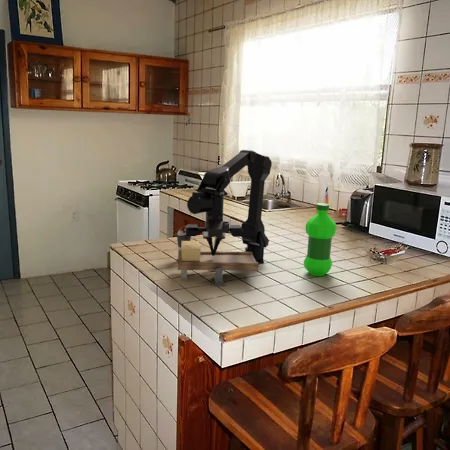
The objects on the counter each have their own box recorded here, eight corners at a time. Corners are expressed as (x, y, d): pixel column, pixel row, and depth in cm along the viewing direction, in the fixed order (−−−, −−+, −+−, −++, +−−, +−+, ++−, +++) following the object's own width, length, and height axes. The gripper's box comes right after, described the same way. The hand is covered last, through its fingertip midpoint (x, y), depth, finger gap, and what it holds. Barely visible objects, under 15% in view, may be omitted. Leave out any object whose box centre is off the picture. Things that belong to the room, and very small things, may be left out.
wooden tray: (251, 259, 162) (252, 247, 161) (258, 272, 148) (259, 260, 147) (178, 258, 160) (178, 247, 159) (178, 272, 145) (178, 259, 144)
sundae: (176, 263, 167) (176, 223, 164) (173, 257, 173) (173, 219, 170) (193, 262, 169) (194, 222, 165) (190, 257, 175) (191, 218, 172)
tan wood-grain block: (198, 254, 157) (199, 240, 156) (200, 263, 148) (200, 249, 147) (181, 254, 157) (181, 240, 156) (181, 263, 147) (181, 248, 146)
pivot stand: (219, 267, 164) (220, 252, 163) (224, 286, 146) (225, 269, 144) (180, 267, 163) (181, 252, 161) (180, 285, 144) (181, 269, 143)
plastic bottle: (338, 276, 160) (345, 206, 154) (314, 280, 154) (321, 207, 149) (318, 267, 168) (324, 201, 162) (296, 271, 163) (301, 202, 157)
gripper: (186, 214, 141) (185, 262, 144) (245, 215, 143) (243, 262, 146) (186, 207, 152) (185, 252, 155) (241, 208, 153) (239, 252, 157)
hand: (213, 255), depth 153 cm, fingers closed
